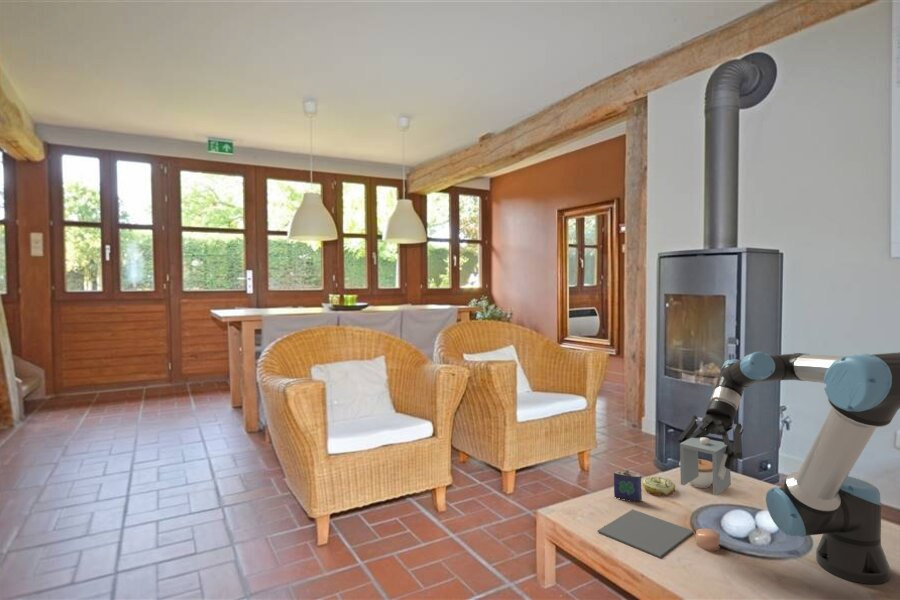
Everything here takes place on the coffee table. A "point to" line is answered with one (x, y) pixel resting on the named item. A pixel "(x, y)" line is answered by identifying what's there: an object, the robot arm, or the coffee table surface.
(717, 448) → the grey arch stand
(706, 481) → the lidded jar
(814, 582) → the coffee table surface
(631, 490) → the flask
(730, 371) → the robot arm
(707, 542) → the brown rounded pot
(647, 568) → the coffee table surface
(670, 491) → the decorated donut
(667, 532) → the mat
